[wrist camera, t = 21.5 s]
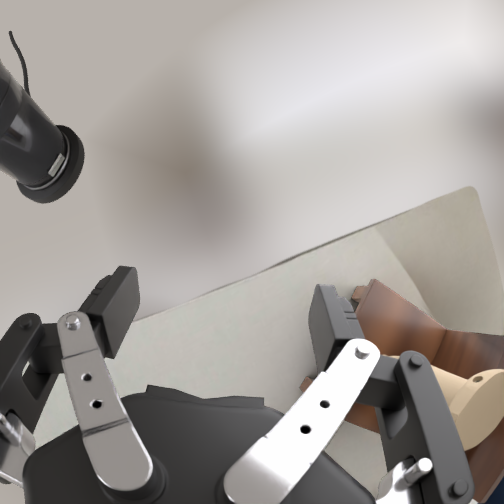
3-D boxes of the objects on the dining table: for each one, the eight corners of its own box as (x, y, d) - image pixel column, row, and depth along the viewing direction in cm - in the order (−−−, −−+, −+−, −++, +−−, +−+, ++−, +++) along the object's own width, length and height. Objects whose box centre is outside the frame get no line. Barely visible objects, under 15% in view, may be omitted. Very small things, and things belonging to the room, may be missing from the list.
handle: (349, 360, 27) (451, 409, 12) (401, 335, 28) (513, 356, 13) (359, 400, 27) (452, 465, 12) (409, 374, 27) (511, 412, 13)
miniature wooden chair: (291, 385, 32) (383, 498, 10) (351, 280, 34) (501, 265, 12) (373, 421, 32) (485, 503, 11) (424, 328, 34) (562, 345, 13)
